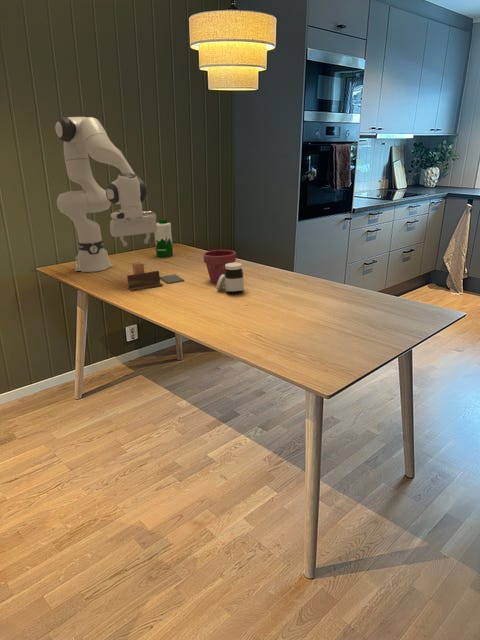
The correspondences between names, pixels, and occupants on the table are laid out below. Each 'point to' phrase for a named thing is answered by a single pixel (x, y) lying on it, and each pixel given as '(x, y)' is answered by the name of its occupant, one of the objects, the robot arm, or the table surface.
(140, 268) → the terracotta block
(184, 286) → the table surface
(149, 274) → the brown wooden stand
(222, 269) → the plant pot
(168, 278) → the charcoal mat
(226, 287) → the spread jar
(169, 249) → the milk carton
